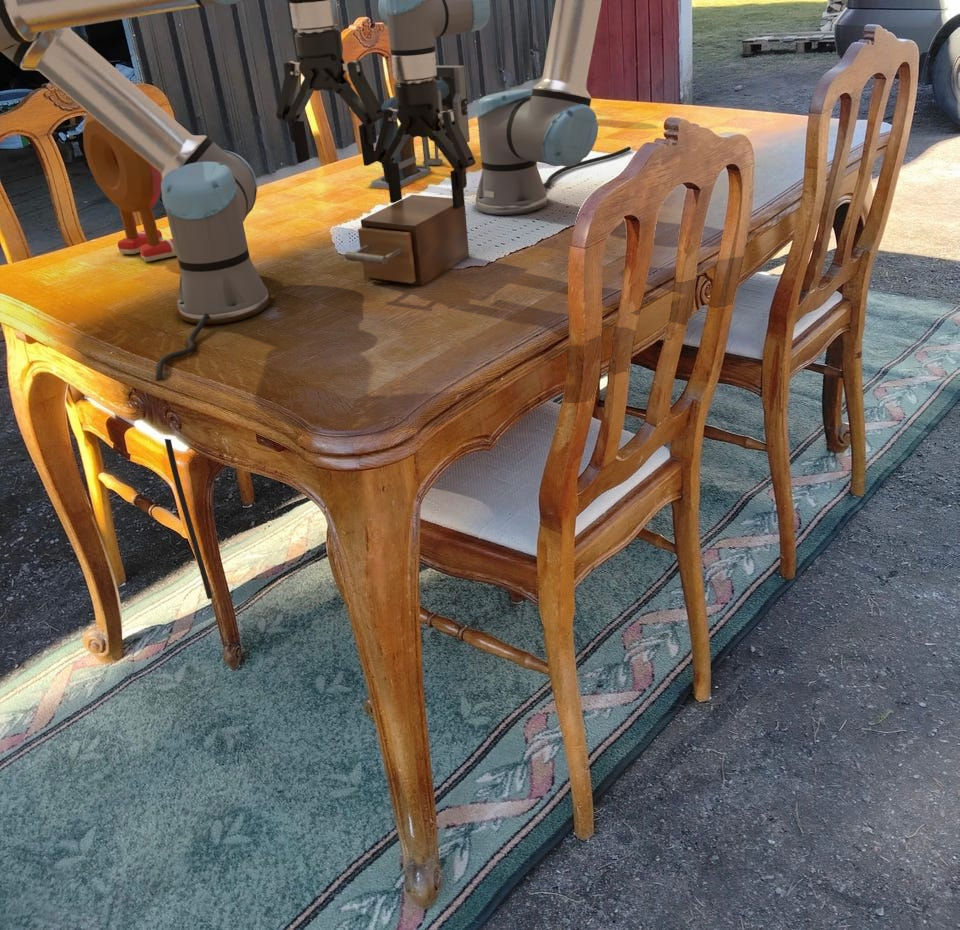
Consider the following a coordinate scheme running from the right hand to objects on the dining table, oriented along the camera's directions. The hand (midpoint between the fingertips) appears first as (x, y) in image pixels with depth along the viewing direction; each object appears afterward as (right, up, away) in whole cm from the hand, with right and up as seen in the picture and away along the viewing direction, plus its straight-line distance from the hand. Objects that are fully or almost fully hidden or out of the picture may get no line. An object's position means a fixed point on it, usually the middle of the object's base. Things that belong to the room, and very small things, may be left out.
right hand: (427, 204), depth 176 cm
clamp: (-5, +26, +65) cm, 70 cm away
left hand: (-15, +5, -8) cm, 18 cm away
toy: (-57, -4, +22) cm, 61 cm away
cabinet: (-1, -11, +2) cm, 11 cm away
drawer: (-4, -13, -3) cm, 14 cm away
